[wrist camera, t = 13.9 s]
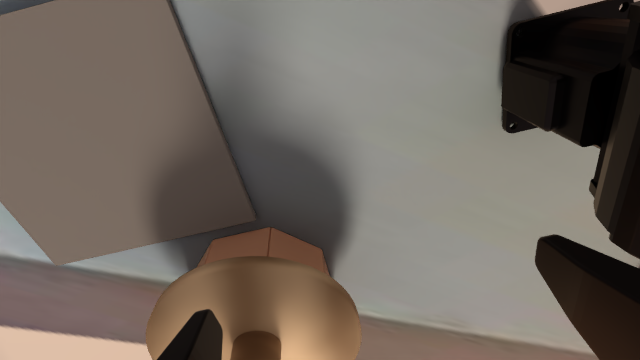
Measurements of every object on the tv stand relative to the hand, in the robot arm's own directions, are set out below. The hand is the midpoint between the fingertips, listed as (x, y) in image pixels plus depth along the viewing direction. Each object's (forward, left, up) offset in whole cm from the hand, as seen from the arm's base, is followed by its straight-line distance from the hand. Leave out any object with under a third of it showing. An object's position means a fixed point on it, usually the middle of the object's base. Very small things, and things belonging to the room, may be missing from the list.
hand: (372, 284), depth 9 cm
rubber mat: (+14, -2, -13) cm, 19 cm away
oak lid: (+8, +12, -8) cm, 17 cm away
